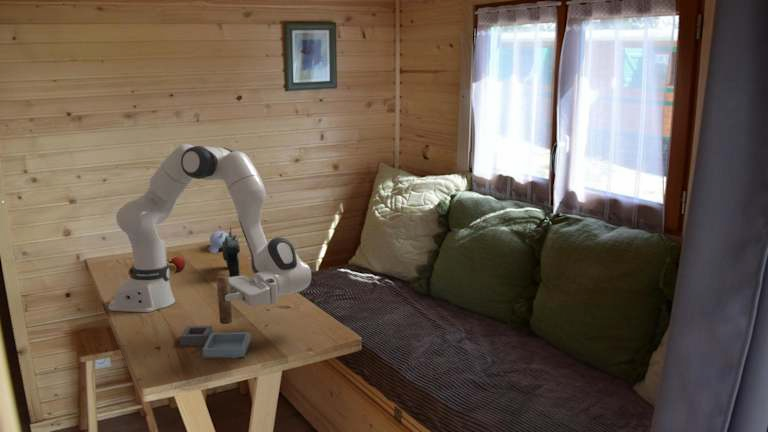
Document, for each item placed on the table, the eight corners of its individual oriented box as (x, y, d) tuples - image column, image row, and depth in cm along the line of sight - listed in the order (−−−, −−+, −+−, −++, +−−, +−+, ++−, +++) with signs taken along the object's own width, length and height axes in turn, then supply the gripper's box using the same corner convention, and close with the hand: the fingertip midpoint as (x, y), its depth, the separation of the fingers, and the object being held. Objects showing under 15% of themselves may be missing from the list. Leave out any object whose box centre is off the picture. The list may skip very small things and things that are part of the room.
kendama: (147, 284, 280) (189, 269, 289) (142, 269, 279) (185, 254, 288) (141, 282, 286) (183, 268, 296) (136, 267, 285) (179, 253, 295)
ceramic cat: (242, 280, 278) (239, 231, 273) (225, 282, 276) (222, 232, 271) (238, 266, 296) (235, 219, 292) (222, 267, 294) (218, 221, 290)
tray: (203, 358, 209) (202, 349, 208) (211, 342, 220) (211, 333, 219) (244, 357, 209) (243, 348, 208) (250, 341, 220) (250, 332, 220)
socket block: (181, 345, 218) (180, 336, 217) (187, 335, 226) (186, 326, 225) (207, 344, 218) (206, 335, 217) (212, 334, 226) (211, 325, 225)
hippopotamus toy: (229, 243, 330) (228, 224, 328) (235, 252, 317) (234, 231, 314) (206, 246, 326) (204, 226, 324) (211, 255, 313) (209, 234, 310)
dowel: (218, 324, 211) (215, 279, 207) (221, 319, 214) (217, 275, 211) (231, 323, 211) (227, 279, 207) (233, 319, 214) (229, 275, 211)
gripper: (247, 268, 225) (206, 277, 217) (278, 284, 209) (235, 294, 201) (248, 287, 227) (208, 296, 219) (279, 304, 211) (236, 315, 203)
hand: (221, 295), depth 210 cm, fingers closed on dowel, 4 cm apart
